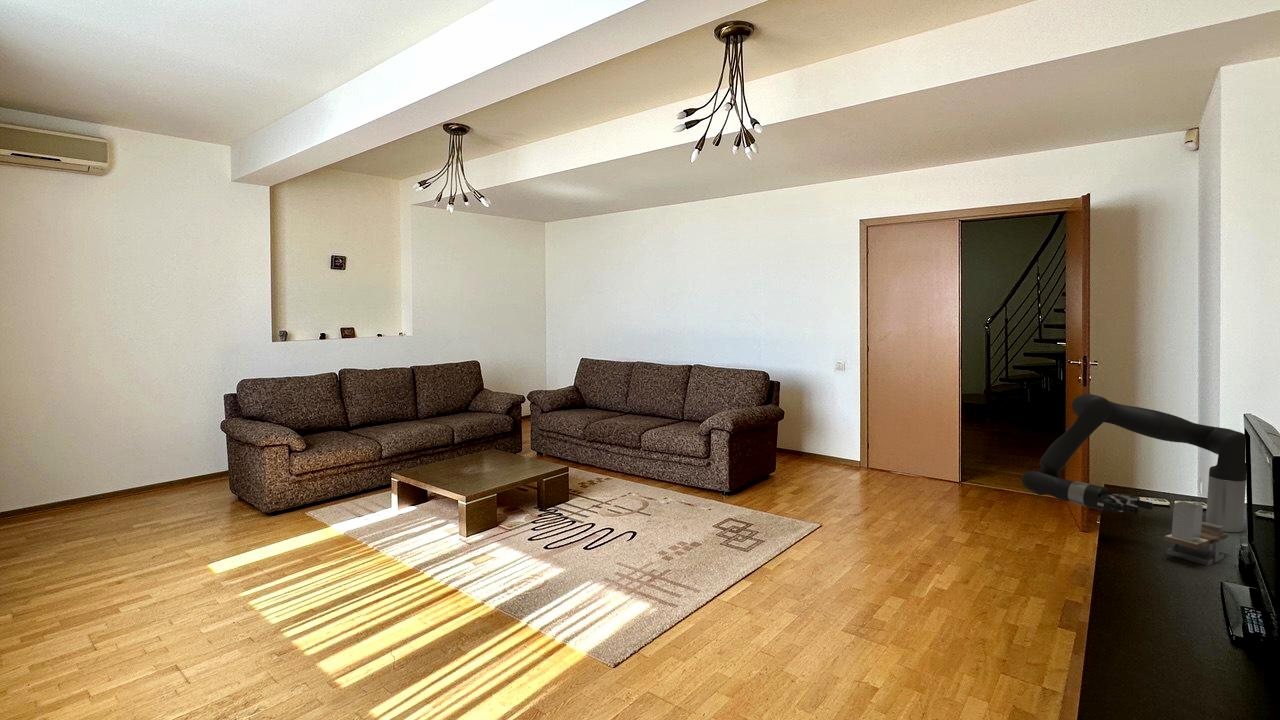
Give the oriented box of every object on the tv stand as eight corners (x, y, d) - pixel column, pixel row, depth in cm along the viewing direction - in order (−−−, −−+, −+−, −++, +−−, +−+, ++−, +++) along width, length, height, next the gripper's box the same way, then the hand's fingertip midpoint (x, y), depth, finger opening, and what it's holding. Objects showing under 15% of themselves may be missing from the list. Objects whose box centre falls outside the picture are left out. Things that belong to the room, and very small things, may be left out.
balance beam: (1194, 529, 200) (1195, 519, 200) (1227, 537, 193) (1228, 527, 193) (1163, 540, 190) (1164, 529, 190) (1197, 549, 183) (1197, 538, 183)
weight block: (1179, 533, 192) (1182, 501, 191) (1200, 539, 188) (1202, 505, 187) (1171, 536, 190) (1174, 503, 189) (1192, 542, 185) (1195, 508, 184)
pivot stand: (1181, 547, 199) (1182, 527, 198) (1224, 558, 190) (1225, 537, 189) (1165, 553, 194) (1167, 533, 194) (1208, 566, 185) (1210, 544, 185)
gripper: (1076, 487, 208) (1134, 500, 193) (1100, 480, 214) (1157, 493, 200) (1075, 510, 208) (1133, 525, 194) (1098, 502, 215) (1156, 516, 201)
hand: (1145, 508), depth 197 cm, fingers open, 8 cm apart
